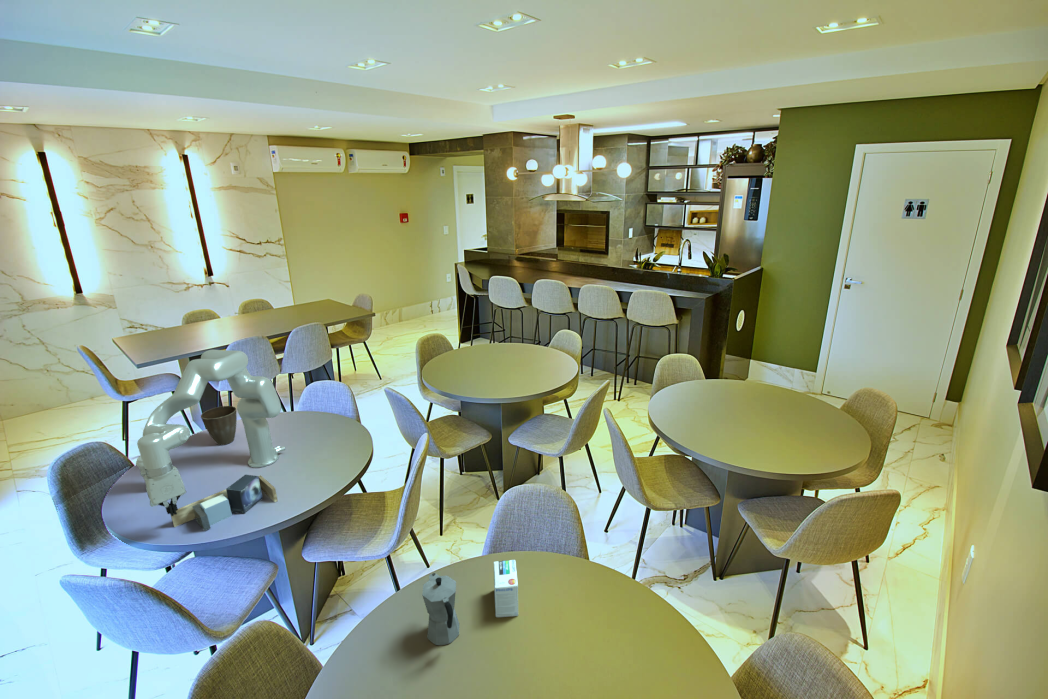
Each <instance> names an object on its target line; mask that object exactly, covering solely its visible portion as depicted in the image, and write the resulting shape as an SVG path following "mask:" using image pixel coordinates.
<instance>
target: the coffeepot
mask: <svg viewBox="0 0 1048 699" xmlns="http://www.w3.org/2000/svg"><path fill="white" fill-rule="evenodd" d="M428 579H429V580H428V581H426V582H425V583H424V584H422V585H423V586H422V594H421V595H422V596H421V597H422V600H423V602H424V605H425V609H426V611H427V613H428V614H429V615H428V624H427V625H428V626H427V636H426V637H427V639H428V640H429V641H430V642H431V643H432V644H434V645H436V646H446V645H450V644H452V643H453V642H454V641H455V640H456V639H457V638H458V637H459V635H460V622H459V619H458V615H457V611H456V608H455V603H456V602H455V601H456V592H457V581H456V580H454V579H453V578H452V577H450V576H449V575H439V574H438V573H436V572H433V573H431V574H429V575H428Z"/></svg>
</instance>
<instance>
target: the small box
mask: <svg viewBox="0 0 1048 699" xmlns="http://www.w3.org/2000/svg"><path fill="white" fill-rule="evenodd" d="M258 476H259V475H251V474H244V475H243V476H241V477H240V478H239V479H238V480H236V481H235V482H233V483H232V484H230V485H229V486H228V487H227V488H225V489H226V491H227V495H228V500H229V505H230V509H231V513H237V514H241V515H242V514H243V515H244V514H246V513H247V512H248V511H250V510H251V509H252V508H253V507H254V506H256V505H257V504H258V503H259V502H261V501H262V500H263V499H264V497H263V493H262V492H263V491H262V490H261V487H260V482H259V477H258Z"/></svg>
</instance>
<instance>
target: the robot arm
mask: <svg viewBox="0 0 1048 699" xmlns="http://www.w3.org/2000/svg"><path fill="white" fill-rule="evenodd" d="M248 364H249V356H248V355H247V354H246V353H245V352H244V351H242V350H226V349H225V350H224V349H223V350H222V349H209V350H205V351H204V352H203V353H202V354H201V356H200V358H196V359H192V360H190V361H189V362H188V363H187V365H186V366H185V368H184V371H183V373H182V375H181V377H180V380H179V381H178V383H177V385H176V388H175V390H174V392H173V394H172V395H171V396H169V397H168V398H166V399H165V400H164V401H163V402H162V403H160V404H159V405H157V407H155V409H154V410H153V411H152V412H151V413H150V415H149V416H148V419H147V421H146V423H145V426H144V427H143V431H142V437H140V438H139V439H138V440H137V442H136V443H137V444H136V445H137V448H138V452H139V456H140V455H141V458H142V461H143V465H144V471H142V472H141V471H140V476H141V477H143V475H146V476H145V480H144V483H145V489H146V493H147V497H148V499H149V506H150V507H156V506H157V507H158V506H161V507H165V511H166V514H167V515H170V514H171V515H170V517H171V516H173V515H176V514H177V512H176V511H177V510H178V509H179V508H178V505H177V503H178V501H179V499H180V498H181V497H183V495H186V493H187V490H186V486H185V484H184V481H183V478H182V476H181V474H180V470H178V468H177V467H176V466H174V464H173V462H172V459H171V455H170V450H173V449H175V448H178V447H180V446H183V445H184V444H185V443H187V441H188V440H189V438H190V437H191V431H190V428H189V427H188V426H186V425H184V424H178V423H177V424H175V423H174V424H173V423H168V421H169V420H170V419H171V418H172V417H173V416H174V415H175V414H177V413H179V412H181V411H183V410H186V409H187V408H191V407H193V406H195V405H197V404H198V403H199V402H200V401H201V399H202V396H203V394H204V392H205V389H206V387H207V384H208V383H209V382H223V381H226V380H227V383H228V384H229V387H230V389H231V391H232V393H233V395H234V396H235V397H236V398H239V400H238V401H237V404H236V411H237V413H238V415H239V417H240V418H241V422H242V425H243V428H244V433H245V438H246V442H247V447H248V450H249V455H250V458H248V461H247V465H248V466H249V467H251V468H263V467H267V466H270V465H273V464H274V463H275V462H277V461H278V460H279V458H280V457H279V453H280V452H284V451H286V448H285V446H284V445H282V446H280V445H277V446H276V447H274V445H273V439H272V435H271V431H270V425H269V422H268V420H267V419H272V418H276V417H277V416H279V414H280V413H281V411H282V406H281V400H280V397H279V395H278V393H277V390H276V388H275V385H274V384H273V382H272V380H271V379H270V378H268V377H266V376H262V375H261V376H258V375H255V376H254V375H251V374H250V372H249V370H248V368H247V366H248ZM169 500H170V501H169ZM168 501H169V502H168Z"/></svg>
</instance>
